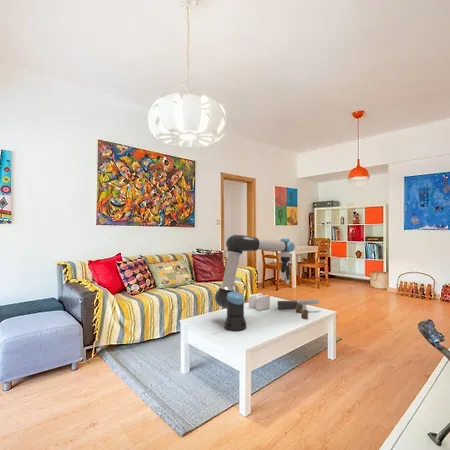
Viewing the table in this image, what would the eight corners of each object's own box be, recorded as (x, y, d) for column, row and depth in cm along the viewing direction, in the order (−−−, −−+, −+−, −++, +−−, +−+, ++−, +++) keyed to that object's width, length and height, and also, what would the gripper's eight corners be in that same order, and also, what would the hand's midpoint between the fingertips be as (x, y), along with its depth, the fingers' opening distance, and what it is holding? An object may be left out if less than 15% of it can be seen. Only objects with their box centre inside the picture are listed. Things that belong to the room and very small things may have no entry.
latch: (318, 304, 229) (318, 300, 229) (297, 305, 228) (297, 301, 228) (317, 303, 232) (317, 299, 232) (296, 303, 231) (296, 300, 231)
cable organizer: (256, 311, 232) (256, 297, 232) (248, 308, 241) (248, 294, 241) (270, 308, 240) (270, 294, 240) (261, 305, 249) (261, 292, 249)
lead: (279, 309, 237) (279, 302, 237) (277, 307, 242) (277, 300, 242) (306, 309, 238) (306, 302, 238) (304, 307, 243) (304, 300, 243)
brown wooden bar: (302, 318, 214) (302, 310, 214) (295, 311, 231) (295, 304, 231) (308, 318, 214) (307, 310, 214) (300, 311, 231) (300, 304, 231)
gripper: (277, 255, 252) (277, 278, 252) (284, 258, 227) (284, 284, 227) (285, 254, 252) (285, 278, 252) (294, 258, 227) (294, 284, 227)
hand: (285, 281), depth 240 cm, fingers open, 13 cm apart
